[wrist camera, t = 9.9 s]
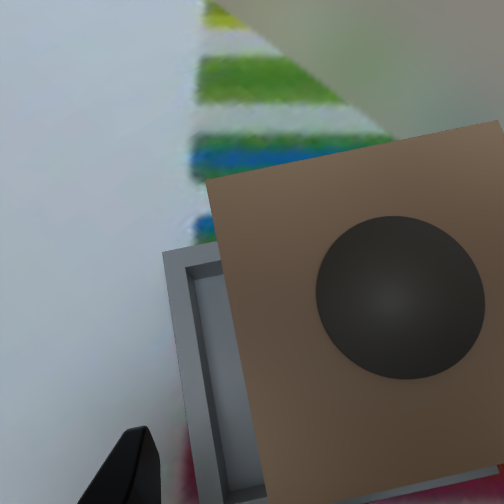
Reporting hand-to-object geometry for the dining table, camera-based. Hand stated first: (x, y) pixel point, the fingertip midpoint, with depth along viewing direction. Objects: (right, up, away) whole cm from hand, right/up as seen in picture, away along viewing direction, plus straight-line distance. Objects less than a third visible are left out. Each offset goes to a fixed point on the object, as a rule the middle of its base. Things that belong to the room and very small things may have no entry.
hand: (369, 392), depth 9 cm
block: (0, -1, +10) cm, 10 cm away
